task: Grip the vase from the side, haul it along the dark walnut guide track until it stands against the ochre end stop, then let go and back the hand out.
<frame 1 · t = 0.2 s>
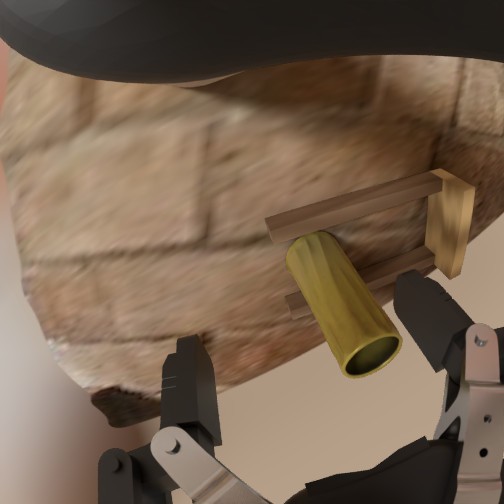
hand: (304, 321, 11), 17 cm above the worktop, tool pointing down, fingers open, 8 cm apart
track: (368, 236, 31), on the worktop
vase: (311, 254, 31), on the worktop
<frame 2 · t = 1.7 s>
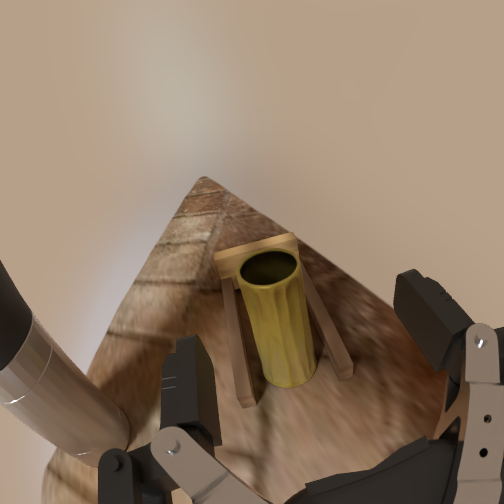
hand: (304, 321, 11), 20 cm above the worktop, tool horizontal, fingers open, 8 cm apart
track: (276, 323, 37), on the worktop
vase: (289, 366, 31), on the worktop
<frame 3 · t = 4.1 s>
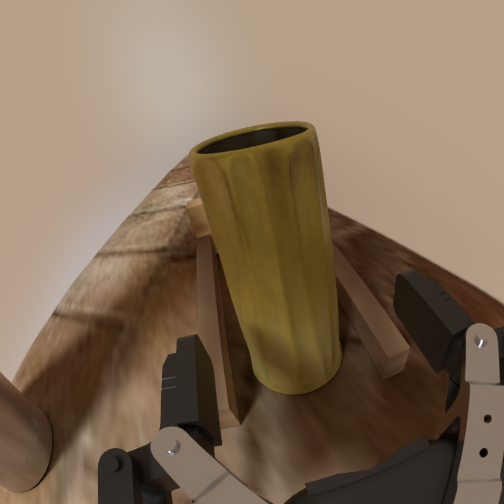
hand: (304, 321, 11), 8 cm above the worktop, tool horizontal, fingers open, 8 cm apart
track: (274, 293, 25), on the worktop
vase: (297, 358, 19), on the worktop
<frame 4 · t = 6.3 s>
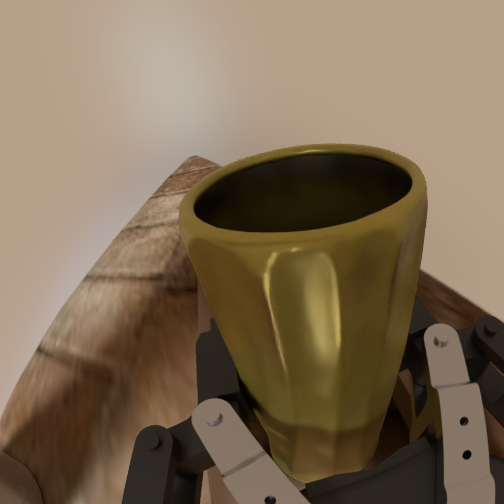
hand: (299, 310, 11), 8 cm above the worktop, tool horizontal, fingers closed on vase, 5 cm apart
track: (294, 348, 19), on the worktop
vase: (324, 437, 13), on the worktop, touching gripper
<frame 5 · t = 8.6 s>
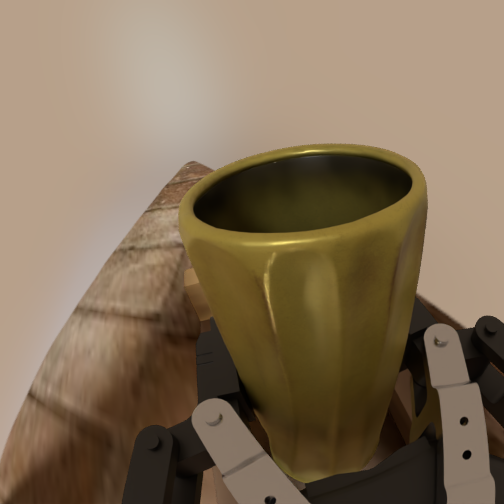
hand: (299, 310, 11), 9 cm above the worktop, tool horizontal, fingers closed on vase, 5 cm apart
track: (315, 420, 15), on the worktop
vase: (325, 437, 13), point 1 cm above the worktop, touching gripper
when the fingers open (8 cm above the worktop, at t = 11.0 s): vase stays where it is, on the worktop.
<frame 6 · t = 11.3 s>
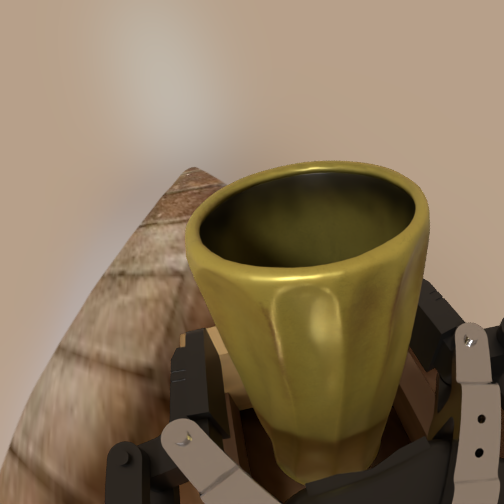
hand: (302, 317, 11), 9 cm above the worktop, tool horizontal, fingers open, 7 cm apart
vase: (327, 441, 14), on the worktop
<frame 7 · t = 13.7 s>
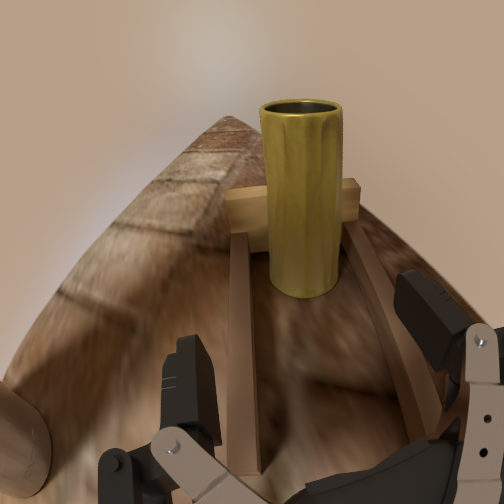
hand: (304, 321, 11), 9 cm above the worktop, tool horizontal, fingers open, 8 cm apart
track: (313, 321, 21), on the worktop
vase: (304, 275, 26), on the worktop
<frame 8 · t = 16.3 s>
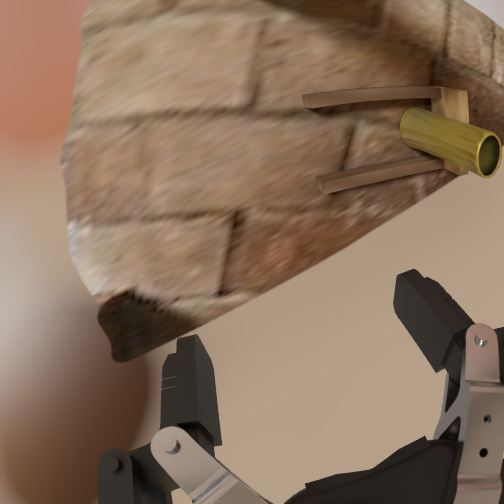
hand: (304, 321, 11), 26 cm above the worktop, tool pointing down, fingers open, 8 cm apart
track: (385, 130, 33), on the worktop
vase: (414, 127, 34), on the worktop
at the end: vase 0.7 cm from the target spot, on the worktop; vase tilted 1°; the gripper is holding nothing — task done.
